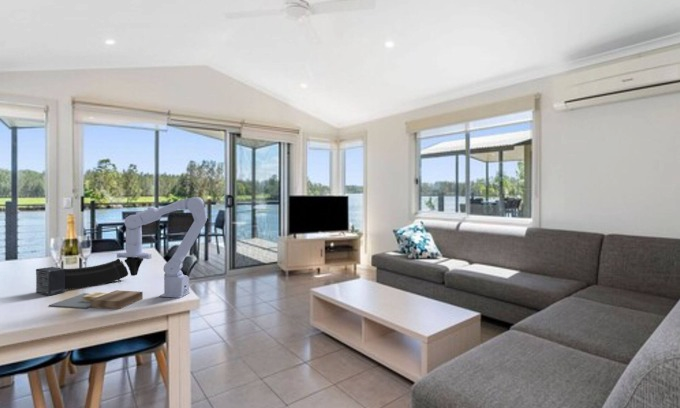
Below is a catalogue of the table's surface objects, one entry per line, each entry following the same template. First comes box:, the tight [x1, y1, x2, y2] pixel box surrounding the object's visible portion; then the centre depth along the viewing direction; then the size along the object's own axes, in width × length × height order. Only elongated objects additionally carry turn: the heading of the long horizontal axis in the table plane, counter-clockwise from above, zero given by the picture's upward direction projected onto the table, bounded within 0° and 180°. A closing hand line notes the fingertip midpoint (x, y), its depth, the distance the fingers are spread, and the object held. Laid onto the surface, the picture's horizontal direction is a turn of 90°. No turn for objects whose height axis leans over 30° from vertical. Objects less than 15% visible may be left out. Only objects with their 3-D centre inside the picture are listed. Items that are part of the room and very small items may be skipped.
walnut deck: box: [89, 289, 143, 310], centre depth 138 cm, size 12×13×3 cm
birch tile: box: [82, 291, 109, 302], centre depth 140 cm, size 7×6×2 cm
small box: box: [35, 266, 66, 296], centre depth 150 cm, size 11×6×10 cm, turn 65°
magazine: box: [58, 258, 129, 291], centre depth 161 cm, size 17×3×30 cm
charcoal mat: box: [48, 292, 91, 309], centre depth 140 cm, size 16×16×1 cm
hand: (134, 275), depth 146 cm, fingers closed
